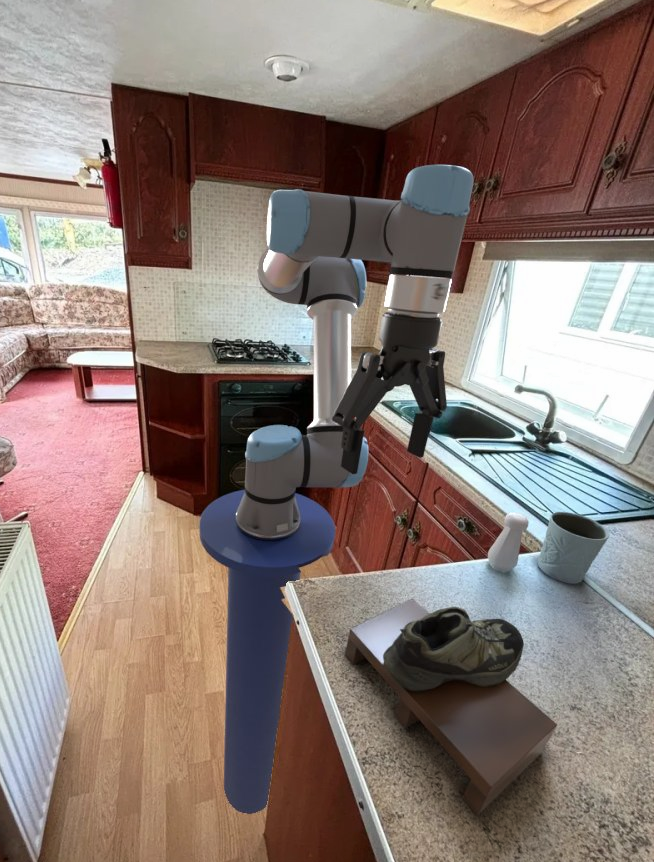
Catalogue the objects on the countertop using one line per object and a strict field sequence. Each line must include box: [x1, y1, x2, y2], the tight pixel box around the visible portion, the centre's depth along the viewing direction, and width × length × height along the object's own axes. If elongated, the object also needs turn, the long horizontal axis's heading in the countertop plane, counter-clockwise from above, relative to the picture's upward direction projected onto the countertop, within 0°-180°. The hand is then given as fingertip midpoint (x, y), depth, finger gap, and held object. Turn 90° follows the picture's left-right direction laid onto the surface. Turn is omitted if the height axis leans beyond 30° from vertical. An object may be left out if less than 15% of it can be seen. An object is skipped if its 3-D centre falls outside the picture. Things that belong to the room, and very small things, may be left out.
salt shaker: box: [487, 512, 529, 574], centre depth 86 cm, size 6×6×13 cm
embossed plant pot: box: [537, 511, 610, 585], centre depth 86 cm, size 10×10×12 cm
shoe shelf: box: [344, 598, 558, 817], centre depth 58 cm, size 24×14×6 cm, turn 31°
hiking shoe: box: [383, 606, 525, 692], centre depth 56 cm, size 8×21×9 cm, turn 107°
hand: (383, 461), depth 61 cm, fingers open, 13 cm apart
